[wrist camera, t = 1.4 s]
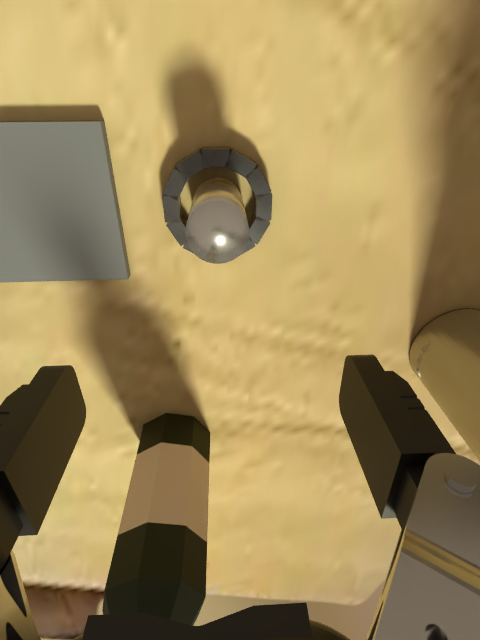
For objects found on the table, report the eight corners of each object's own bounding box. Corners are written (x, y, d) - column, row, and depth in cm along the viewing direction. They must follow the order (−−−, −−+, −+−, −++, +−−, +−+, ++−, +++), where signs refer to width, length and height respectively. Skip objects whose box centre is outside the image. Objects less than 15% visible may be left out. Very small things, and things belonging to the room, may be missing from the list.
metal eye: (271, 146, 28) (273, 148, 27) (267, 252, 32) (269, 258, 31) (160, 147, 28) (157, 149, 26) (171, 254, 32) (169, 260, 31)
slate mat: (104, 120, 26) (100, 121, 26) (130, 274, 33) (128, 279, 32) (-67, 122, 26) (-77, 123, 25) (-9, 277, 32) (-15, 282, 31)
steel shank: (242, 177, 29) (249, 200, 22) (242, 227, 31) (249, 262, 24) (191, 178, 29) (182, 201, 22) (195, 228, 31) (187, 264, 24)
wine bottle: (151, 466, 46) (61, 939, 20) (130, 418, 41) (-19, 941, 16) (216, 456, 45) (213, 924, 19) (202, 407, 41) (174, 922, 15)
